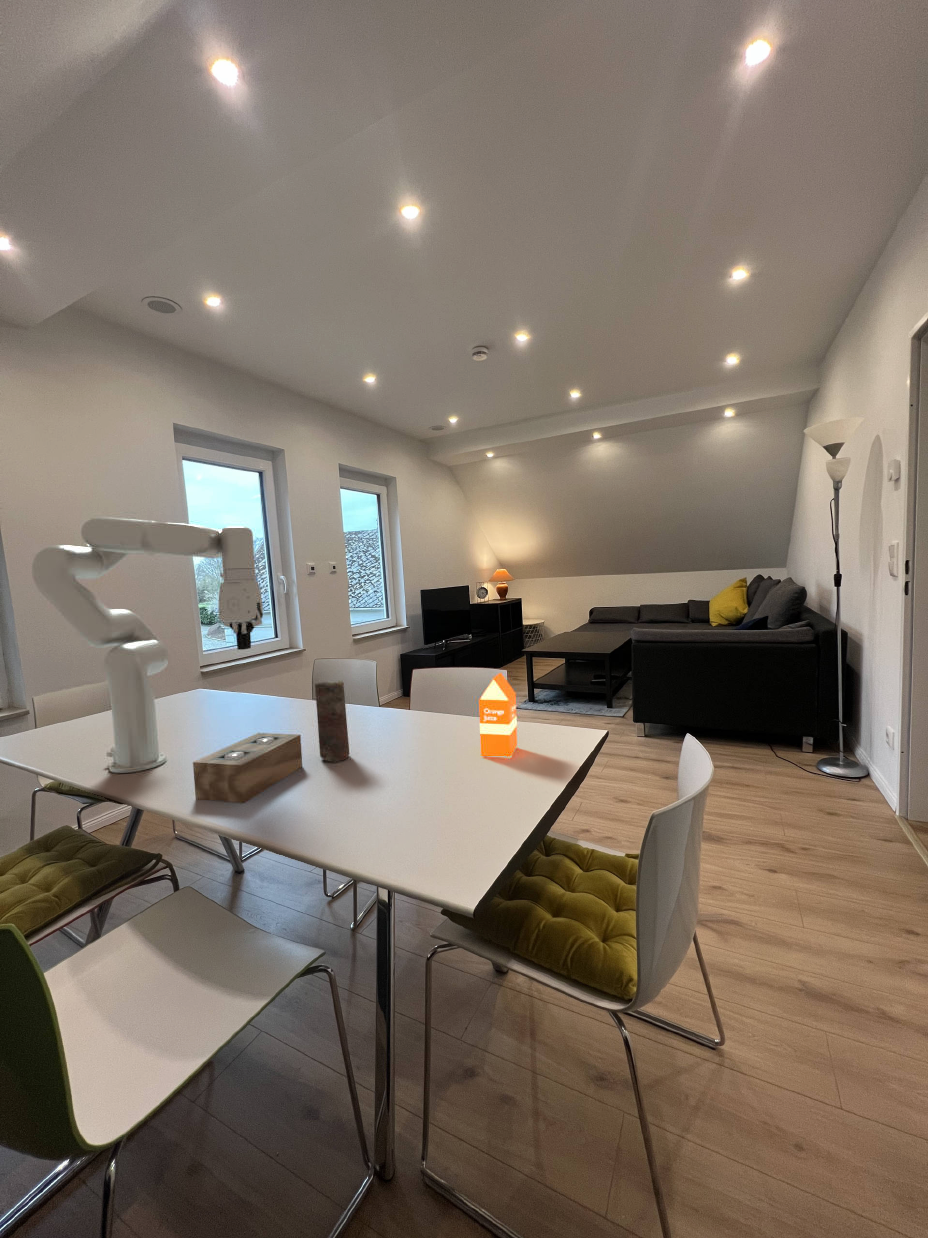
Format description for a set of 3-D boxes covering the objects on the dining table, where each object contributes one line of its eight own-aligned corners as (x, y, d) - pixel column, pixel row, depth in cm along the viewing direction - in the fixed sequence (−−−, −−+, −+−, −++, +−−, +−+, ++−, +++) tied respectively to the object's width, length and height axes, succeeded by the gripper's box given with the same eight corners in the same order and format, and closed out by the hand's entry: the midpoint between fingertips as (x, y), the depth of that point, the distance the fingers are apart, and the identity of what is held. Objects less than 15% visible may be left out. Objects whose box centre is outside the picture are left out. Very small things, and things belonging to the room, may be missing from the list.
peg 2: (254, 771, 127) (252, 742, 127) (265, 765, 131) (263, 737, 130) (269, 772, 126) (267, 742, 126) (279, 766, 130) (277, 737, 129)
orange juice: (480, 757, 134) (477, 678, 133) (489, 746, 143) (486, 671, 141) (511, 758, 132) (508, 678, 131) (518, 747, 140) (515, 672, 139)
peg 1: (222, 788, 117) (220, 757, 116) (234, 782, 120) (232, 751, 120) (238, 790, 115) (236, 758, 115) (250, 783, 119) (248, 752, 119)
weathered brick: (313, 760, 136) (308, 683, 135) (332, 752, 143) (328, 678, 141) (336, 764, 133) (331, 684, 131) (355, 755, 139) (351, 679, 138)
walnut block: (195, 798, 114) (192, 762, 114) (260, 763, 135) (258, 732, 135) (243, 803, 111) (241, 765, 111) (302, 766, 132) (300, 734, 132)
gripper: (203, 577, 133) (209, 651, 135) (255, 575, 129) (260, 650, 131) (224, 577, 141) (229, 647, 142) (274, 575, 137) (278, 647, 138)
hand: (244, 648), depth 136 cm, fingers closed
